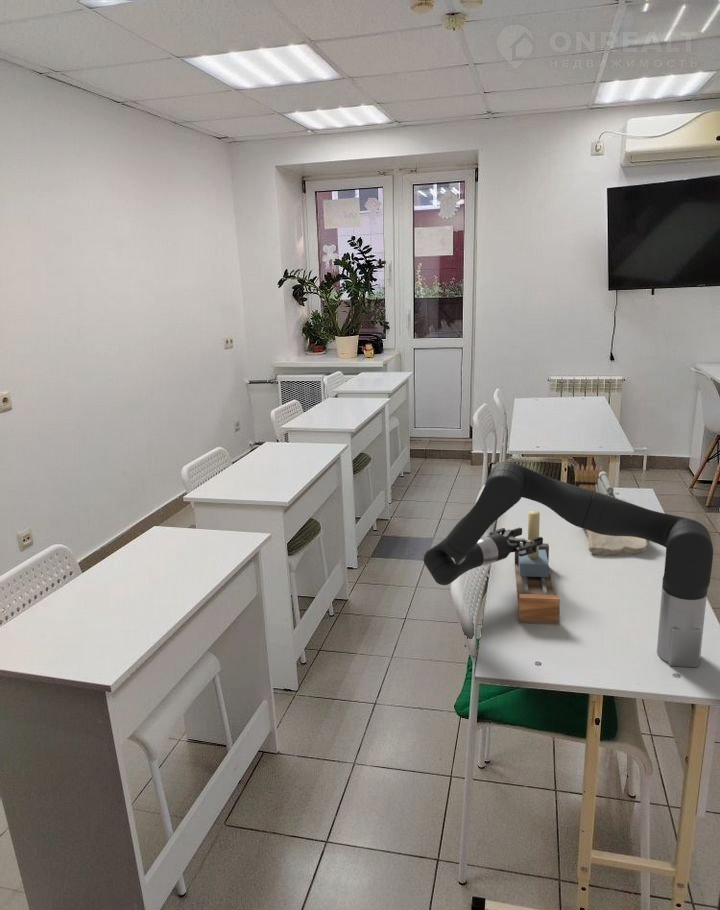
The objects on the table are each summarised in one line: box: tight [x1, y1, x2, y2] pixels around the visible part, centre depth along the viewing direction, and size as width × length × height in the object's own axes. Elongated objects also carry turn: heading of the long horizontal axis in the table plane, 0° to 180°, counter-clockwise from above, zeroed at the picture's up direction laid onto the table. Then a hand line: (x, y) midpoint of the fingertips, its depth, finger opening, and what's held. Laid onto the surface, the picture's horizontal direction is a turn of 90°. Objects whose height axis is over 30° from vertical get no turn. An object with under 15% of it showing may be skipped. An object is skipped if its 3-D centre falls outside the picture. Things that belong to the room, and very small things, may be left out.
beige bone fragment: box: [584, 529, 650, 556], centre depth 213 cm, size 24×8×20 cm
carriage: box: [518, 510, 550, 577], centre depth 190 cm, size 10×8×18 cm
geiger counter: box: [596, 470, 616, 498], centre depth 235 cm, size 14×6×25 cm
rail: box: [514, 542, 561, 626], centre depth 183 cm, size 34×10×8 cm, turn 169°
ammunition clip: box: [574, 464, 604, 492], centre depth 255 cm, size 11×2×12 cm, turn 69°
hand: (531, 535), depth 188 cm, fingers open, 8 cm apart
